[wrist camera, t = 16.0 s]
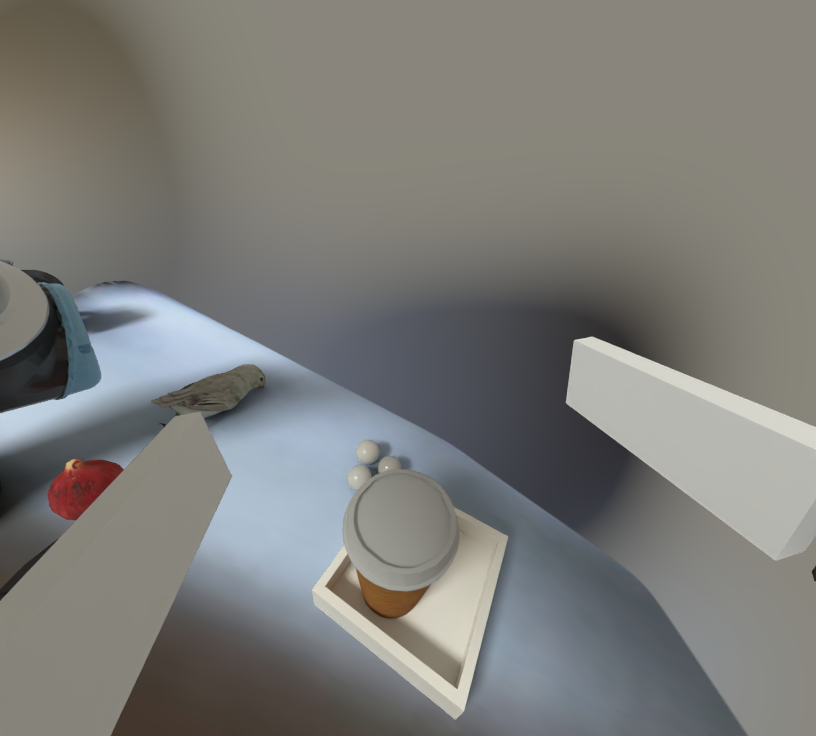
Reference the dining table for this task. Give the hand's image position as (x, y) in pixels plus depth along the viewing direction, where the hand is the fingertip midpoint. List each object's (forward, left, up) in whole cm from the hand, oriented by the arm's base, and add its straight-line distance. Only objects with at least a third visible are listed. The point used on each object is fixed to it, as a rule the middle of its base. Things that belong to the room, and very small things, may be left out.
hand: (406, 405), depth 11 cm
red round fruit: (-5, +33, -29) cm, 44 cm away
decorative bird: (+12, +38, -29) cm, 49 cm away
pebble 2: (+13, +11, -29) cm, 33 cm away
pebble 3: (+16, +8, -28) cm, 34 cm away
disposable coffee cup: (+5, +1, -28) cm, 28 cm away
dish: (+7, -1, -28) cm, 29 cm away
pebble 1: (+17, +12, -29) cm, 35 cm away
